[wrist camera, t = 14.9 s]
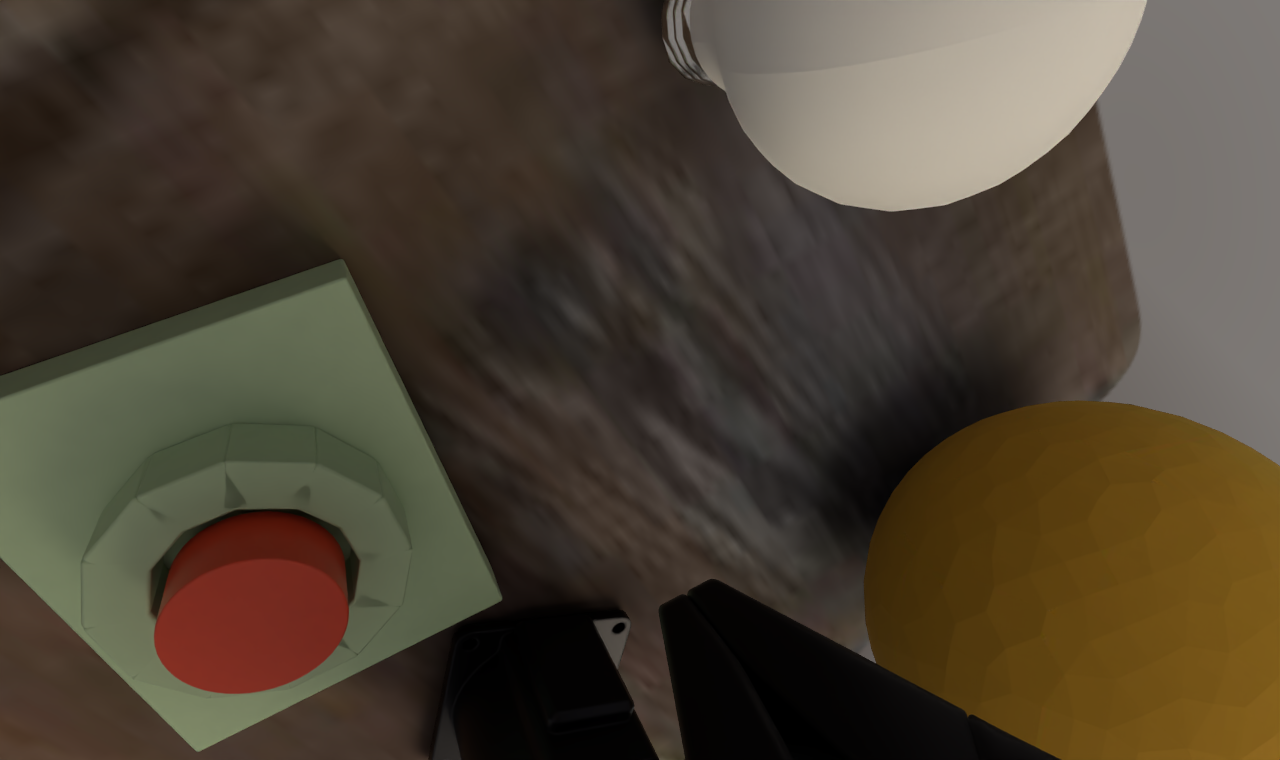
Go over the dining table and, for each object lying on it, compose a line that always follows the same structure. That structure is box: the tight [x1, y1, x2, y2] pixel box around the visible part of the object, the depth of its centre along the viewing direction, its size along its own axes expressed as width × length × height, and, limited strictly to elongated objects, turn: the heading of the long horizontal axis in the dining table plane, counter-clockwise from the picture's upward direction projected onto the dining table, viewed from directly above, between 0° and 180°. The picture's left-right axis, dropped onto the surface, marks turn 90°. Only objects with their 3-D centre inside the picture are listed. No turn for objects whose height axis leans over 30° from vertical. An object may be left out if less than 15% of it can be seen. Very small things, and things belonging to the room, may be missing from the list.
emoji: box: [864, 401, 1280, 760], centre depth 24 cm, size 16×16×15 cm
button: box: [154, 511, 349, 694], centre depth 15 cm, size 4×4×2 cm
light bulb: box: [661, 0, 1147, 212], centre depth 13 cm, size 7×7×11 cm
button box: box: [0, 259, 502, 752], centre depth 17 cm, size 11×9×4 cm
